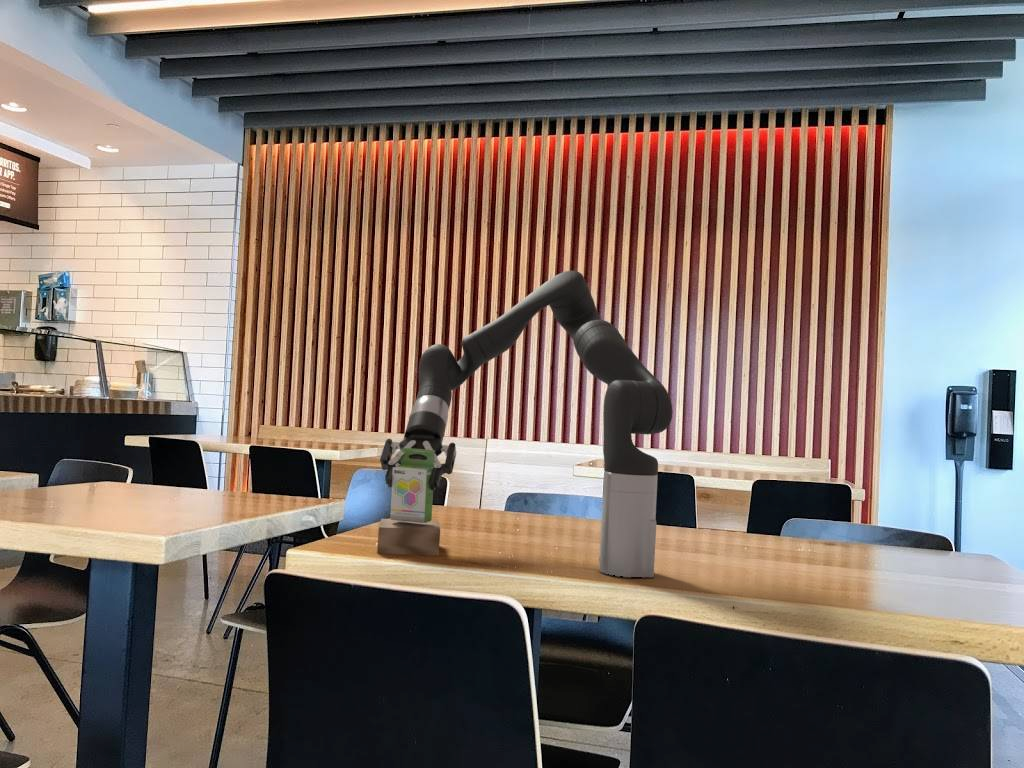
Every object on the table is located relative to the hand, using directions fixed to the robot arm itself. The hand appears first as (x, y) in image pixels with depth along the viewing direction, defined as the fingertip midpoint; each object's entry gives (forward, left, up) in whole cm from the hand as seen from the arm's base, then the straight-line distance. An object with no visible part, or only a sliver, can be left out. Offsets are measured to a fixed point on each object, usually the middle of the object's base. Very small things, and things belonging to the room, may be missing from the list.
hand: (410, 486), depth 149 cm
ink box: (0, -1, -7) cm, 7 cm away
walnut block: (0, -1, -12) cm, 12 cm away
